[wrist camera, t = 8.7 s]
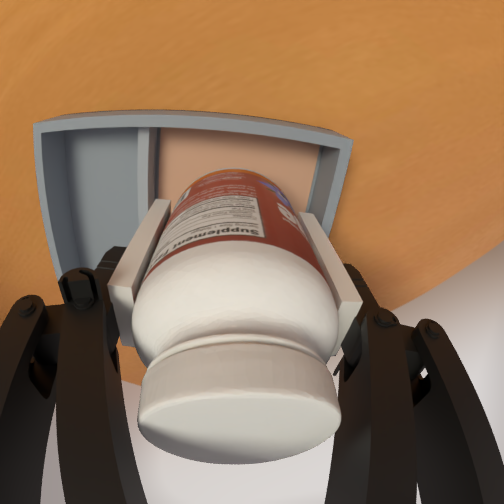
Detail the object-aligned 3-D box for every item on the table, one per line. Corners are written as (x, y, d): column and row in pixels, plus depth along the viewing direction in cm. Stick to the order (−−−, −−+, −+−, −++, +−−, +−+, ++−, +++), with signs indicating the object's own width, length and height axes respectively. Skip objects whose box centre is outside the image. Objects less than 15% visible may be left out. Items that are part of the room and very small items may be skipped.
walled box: (85, 288, 21) (70, 317, 18) (64, 114, 13) (33, 123, 10) (287, 306, 23) (294, 339, 20) (331, 130, 16) (353, 140, 13)
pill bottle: (296, 260, 16) (356, 450, 7) (192, 278, 16) (171, 471, 7) (283, 153, 13) (407, 332, 4) (159, 178, 13) (46, 376, 4)
